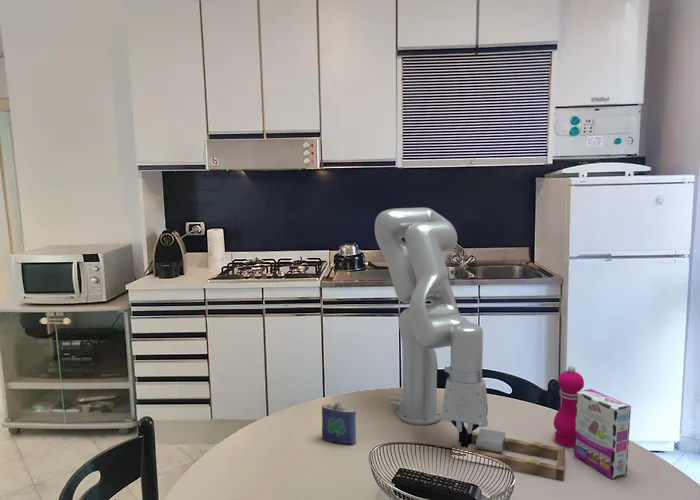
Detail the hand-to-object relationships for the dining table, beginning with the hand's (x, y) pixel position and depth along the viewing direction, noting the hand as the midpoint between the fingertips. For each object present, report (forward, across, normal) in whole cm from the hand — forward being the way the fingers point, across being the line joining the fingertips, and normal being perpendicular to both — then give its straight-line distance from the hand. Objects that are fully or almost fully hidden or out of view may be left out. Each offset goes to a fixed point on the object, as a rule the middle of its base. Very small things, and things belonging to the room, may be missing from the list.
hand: (465, 445), depth 129 cm
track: (+1, +10, 0) cm, 10 cm away
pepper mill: (+2, +23, +14) cm, 27 cm away
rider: (+1, +6, 0) cm, 6 cm away
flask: (+1, -31, -8) cm, 32 cm away
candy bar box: (+2, +30, +5) cm, 31 cm away
